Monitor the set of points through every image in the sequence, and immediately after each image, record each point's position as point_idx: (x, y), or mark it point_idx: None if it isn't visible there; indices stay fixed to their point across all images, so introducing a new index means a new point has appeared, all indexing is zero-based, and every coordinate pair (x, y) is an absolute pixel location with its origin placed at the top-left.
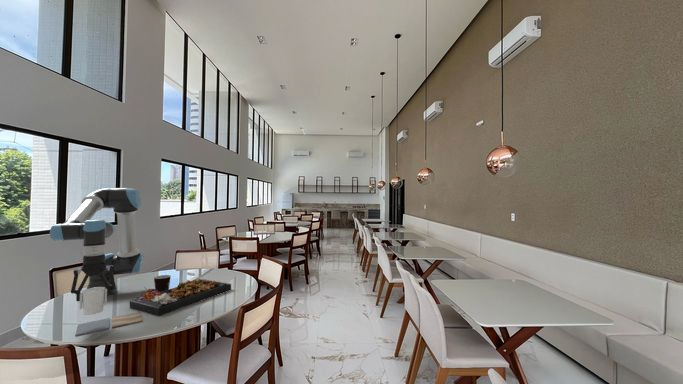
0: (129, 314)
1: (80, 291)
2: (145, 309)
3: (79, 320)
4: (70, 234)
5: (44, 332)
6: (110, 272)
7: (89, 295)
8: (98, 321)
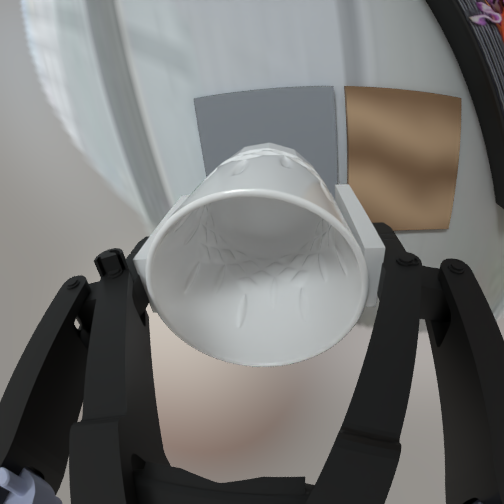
0: (421, 99)
1: (147, 326)
2: (484, 111)
3: (184, 19)
4: None
5: (90, 122)
6: (458, 484)
7: (237, 338)
8: (285, 109)
